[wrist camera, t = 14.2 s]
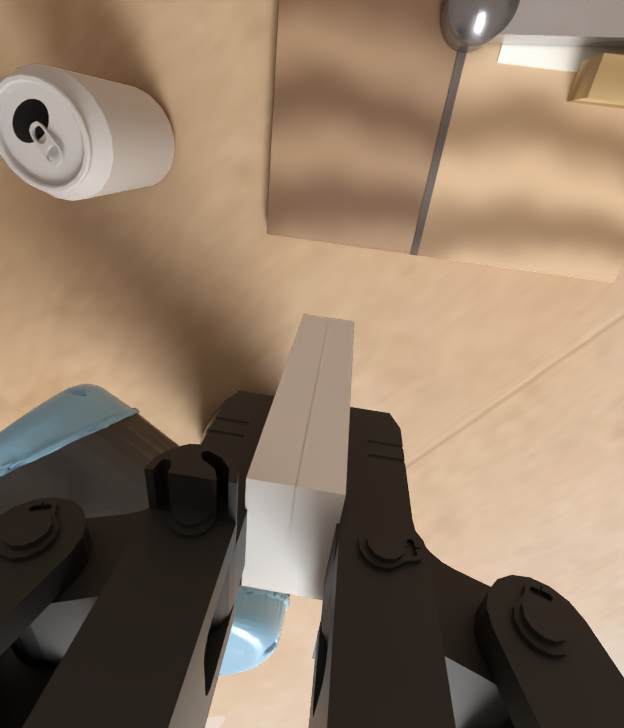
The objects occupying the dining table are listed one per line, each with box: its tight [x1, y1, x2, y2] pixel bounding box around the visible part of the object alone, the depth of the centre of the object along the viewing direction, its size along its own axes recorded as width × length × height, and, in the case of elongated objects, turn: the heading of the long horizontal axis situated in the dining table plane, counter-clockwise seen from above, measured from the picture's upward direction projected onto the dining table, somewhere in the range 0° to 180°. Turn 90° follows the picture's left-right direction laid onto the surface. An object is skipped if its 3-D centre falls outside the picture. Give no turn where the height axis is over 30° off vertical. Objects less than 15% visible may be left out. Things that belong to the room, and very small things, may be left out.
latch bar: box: [440, 0, 624, 53], centre depth 24 cm, size 17×4×4 cm, turn 88°
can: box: [0, 63, 175, 201], centre depth 29 cm, size 8×8×12 cm
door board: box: [267, 0, 624, 283], centre depth 26 cm, size 32×30×5 cm
